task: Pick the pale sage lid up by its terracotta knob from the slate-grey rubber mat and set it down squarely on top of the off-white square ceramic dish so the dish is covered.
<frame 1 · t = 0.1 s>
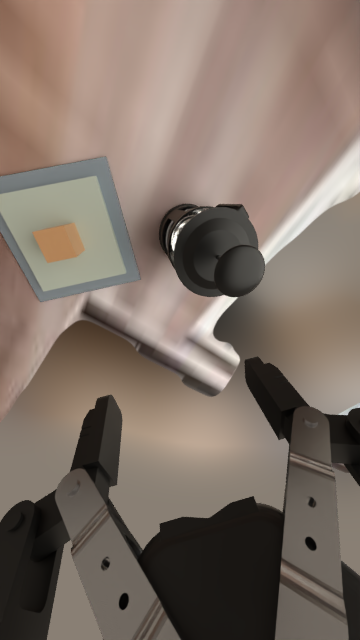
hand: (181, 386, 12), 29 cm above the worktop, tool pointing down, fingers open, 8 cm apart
lid: (69, 238, 33), resting on mat
french press: (188, 232, 36), on the worktop
mat: (70, 237, 33), on the worktop
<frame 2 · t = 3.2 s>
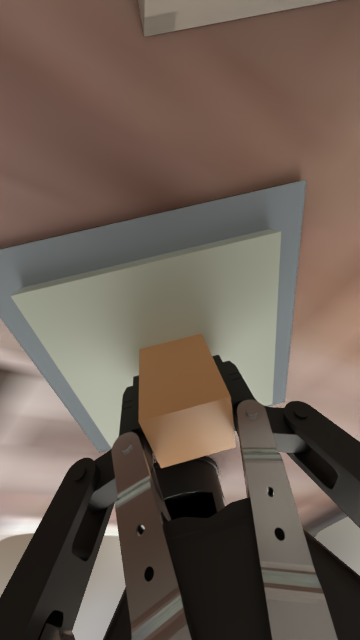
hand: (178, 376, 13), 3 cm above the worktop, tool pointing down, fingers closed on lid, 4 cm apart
lid: (174, 353, 15), point 1 cm above the worktop, touching gripper, mat
french press: (181, 476, 25), on the worktop
mat: (173, 349, 16), on the worktop
when the fingers open (10 cm above the worktop, at t = 8.4 s): lid drops 2 cm, resting on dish.
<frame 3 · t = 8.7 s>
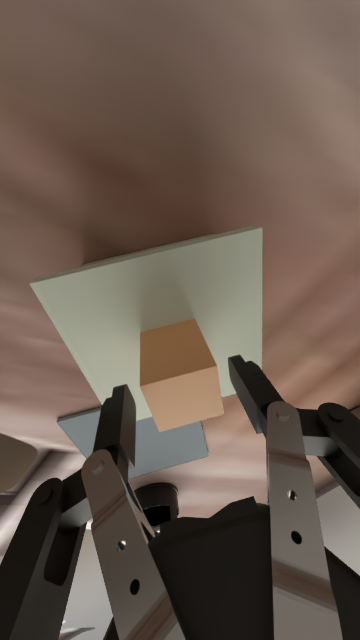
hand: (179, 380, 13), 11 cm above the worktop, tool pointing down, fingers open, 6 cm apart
lid: (171, 338, 17), point 6 cm above the worktop, touching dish
french press: (155, 494, 42), on the worktop
mat: (144, 438, 32), on the worktop
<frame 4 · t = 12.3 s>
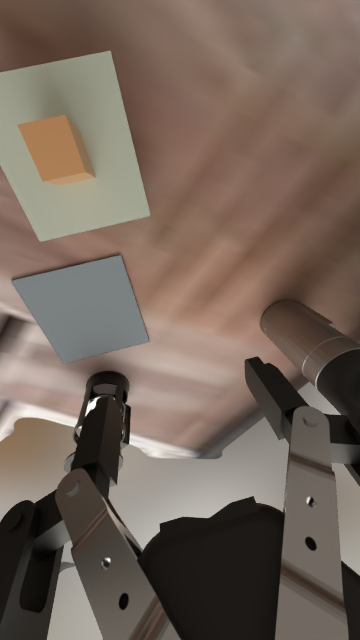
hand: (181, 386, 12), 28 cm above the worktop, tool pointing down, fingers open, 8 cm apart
lid: (73, 161, 24), point 6 cm above the worktop, touching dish
french press: (110, 386, 49), on the worktop
mat: (89, 314, 39), on the worktop
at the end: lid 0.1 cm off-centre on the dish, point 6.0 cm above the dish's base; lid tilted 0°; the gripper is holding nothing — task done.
